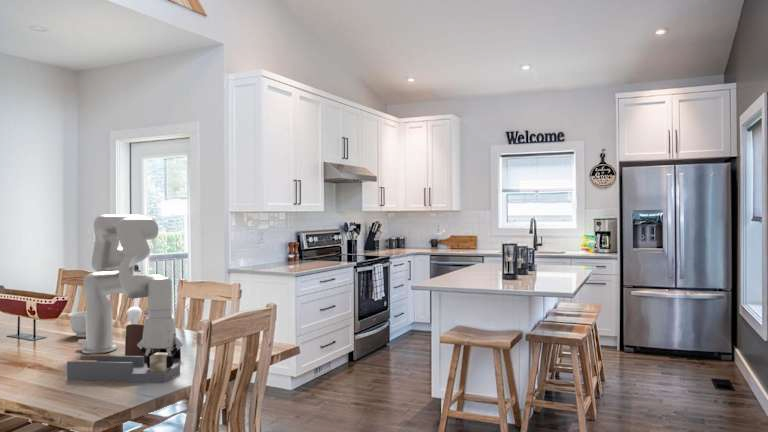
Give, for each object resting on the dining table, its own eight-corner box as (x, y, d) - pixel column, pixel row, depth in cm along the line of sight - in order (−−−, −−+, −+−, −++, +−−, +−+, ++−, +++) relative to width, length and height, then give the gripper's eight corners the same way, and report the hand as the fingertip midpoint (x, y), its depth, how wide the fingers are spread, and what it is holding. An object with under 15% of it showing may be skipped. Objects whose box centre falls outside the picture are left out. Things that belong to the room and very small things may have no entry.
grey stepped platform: (63, 381, 183) (63, 362, 182) (85, 370, 195) (85, 352, 194) (164, 383, 181) (164, 364, 181) (180, 372, 193) (180, 354, 193)
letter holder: (158, 367, 200) (158, 328, 200) (124, 359, 210) (124, 322, 210) (181, 361, 209) (181, 323, 208) (147, 353, 219) (147, 318, 218)
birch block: (149, 371, 184) (149, 356, 184) (156, 367, 189) (156, 352, 189) (164, 371, 184) (164, 356, 184) (171, 367, 189) (171, 352, 189)
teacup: (71, 341, 238) (71, 317, 238) (65, 334, 250) (65, 312, 250) (102, 337, 246) (102, 314, 246) (95, 331, 258) (95, 309, 257)
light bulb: (132, 331, 257) (132, 308, 257) (123, 330, 260) (123, 306, 260) (144, 329, 262) (145, 306, 262) (136, 327, 266) (136, 304, 266)
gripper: (129, 315, 184) (129, 369, 184) (180, 316, 183) (180, 370, 183) (140, 311, 191) (140, 363, 191) (189, 312, 190) (189, 364, 190)
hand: (160, 366), depth 187 cm, fingers open, 5 cm apart
